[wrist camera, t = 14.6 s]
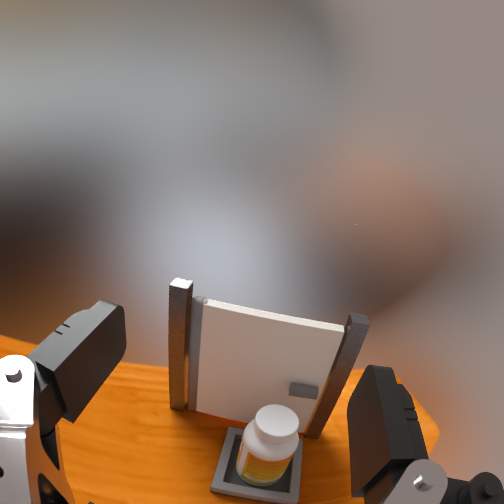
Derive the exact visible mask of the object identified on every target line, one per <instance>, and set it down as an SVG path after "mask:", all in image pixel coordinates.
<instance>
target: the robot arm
mask: <svg viewBox="0 0 504 504" xmlns="http://www.w3.org/2000/svg"><path fill="white" fill-rule="evenodd" d="M125 350H126V332H125V317H124V309H123V307H122V306H120V305H117V304H114V303H111V302H108V301H105V300H100V301H98V302H97V303H96V304H95V305H94V306H93V307H92V308H90V310H87V309H85V310H83V311H80V312H78V313H75V314H73V315H72V316H71V317H69V318H68V319H67V320H66V321H65V322H64V323H63V325H60V326H59V327H58V328H57V329H56V331H55V332H53V333H52V334H50V335H49V336H48V337H47V338H46V339H45V340H44V341H43V342H42V343H40V344H39V345H38V346H37V347H36V348H35V349H34V350H33V351H32V352H31V353H30V354H29V355H28V356H26V357H23V356H19V355H12V356H8V357H5V358H3V359H1V360H0V504H75V500H74V497H73V494H72V491H71V488H70V486H69V484H68V482H67V479H66V476H65V471H64V465H63V458H62V451H61V444H60V435H59V427H58V424H57V423H58V421H59V420H60V419H61V418H62V417H63V418H65V419H66V420H68V421H70V422H72V423H74V422H75V421H76V419H77V418H78V416H79V415H80V414H81V412H82V411H83V410H84V408H85V407H86V406H87V404H88V403H89V401H90V400H91V399H92V397H93V396H94V395H95V393H96V392H97V391H98V389H99V388H100V387H101V385H102V384H103V383H104V381H105V380H106V379H107V377H108V376H109V375H110V373H111V372H112V371H113V369H114V368H115V367H116V366H117V364H118V363H119V362H120V360H121V359H122V357H123V355H124V353H125ZM417 420H418V417H417V413H416V411H415V407H414V403H413V400H412V397H411V395H410V394H409V392H408V391H407V390H406V388H405V387H404V386H403V385H402V384H397V382H396V378H395V375H394V372H393V369H392V368H390V367H383V366H375V365H369V366H367V367H366V369H365V371H364V373H363V375H362V377H361V379H360V380H359V382H358V384H357V386H356V388H355V390H354V392H353V393H352V395H351V397H350V400H349V403H348V407H347V421H348V434H349V448H350V466H351V492H352V497H364V501H365V504H504V490H503V486H502V484H501V482H500V480H499V479H498V478H497V477H496V476H495V475H493V474H492V473H489V472H482V473H480V474H478V475H476V476H475V477H474V478H473V479H471V480H470V481H469V482H468V481H463V480H457V479H452V478H448V477H447V475H446V473H445V471H444V469H443V468H442V467H441V466H440V465H439V464H437V463H436V462H433V461H431V460H429V458H428V454H427V450H426V446H425V442H424V439H423V435H422V431H421V427H420V424H419V421H417ZM88 504H94V503H92V502H89V503H88Z"/></svg>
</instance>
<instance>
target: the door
mask: <svg viewBox="0 0 504 504" xmlns="http://www.w3.org/2000/svg"><path fill="white" fill-rule="evenodd" d="M343 335H344V328H343V325H337V324H331V323H325V322H320V321H314V320H309V319H303V318H298V317H292V316H287V315H282V314H277V313H272V312H267V311H262V310H257V309H252V308H247V307H243V306H238V305H233V304H229V303H224V302H220V301H215V300H210V299H207V298H205V297H202V296H196V297H193V298H192V306H191V323H190V342H189V366H188V403H187V407H188V409H189V410H191V411H199V412H203V413H206V414H210V415H214V416H218V417H222V418H226V419H231V420H235V421H240V422H244V423H250V422H251V421H252V420H254V419H255V417H256V414H257V412H258V411H259V410H260V409H261V408H263V407H265V406H267V405H274V404H275V405H282V406H285V407H287V408H289V409H291V410H292V411H293V412H294V413H295V414H296V415H297V417H298V419H299V427H298V429H297V432H302V433H303V432H304V429H305V427H306V425H307V423H308V421H309V419H310V416H311V414H312V412H313V410H314V408H315V405H316V403H317V401H318V398H319V396H320V394H321V391H322V389H323V387H324V384H325V382H326V379H327V377H328V374H329V372H330V369H331V367H332V364H333V362H334V359H335V356H336V354H337V351H338V348H339V346H340V343H341V340H342V338H343Z"/></svg>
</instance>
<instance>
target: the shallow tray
mask: <svg viewBox="0 0 504 504" xmlns="http://www.w3.org/2000/svg"><path fill="white" fill-rule="evenodd" d="M244 430H245V429H240V428H235V427H231V426H229V428H228V431H227V434H226V438H225V441H224V445H223V448H222V451H221V455H220V458H219V461H218V465H217V468H216V471H215V474H214V478H213V481H212V484H211V488H210V491H212V492H216V493H220V494H224V495H229V496H234V497H239V498H244V499H249V500H255V501H262V502H268V503H276V504H297V503H298V501H299V490H300V478H301V465H302V450H303V439H299V443H298V446H297V449H296V451H295V453H294V454H293V456H292V458H291V460H290V462H289V464H288V466H287V468H286V470H285V472H284V474H283V475H282V477H281V478H280V479H279V480H278V481H277V482H275V483H274V484H271V485H268V486H255V485H252V484H249V483H247V482H246V481H244V480H243V479H242V478H241V477H240V476H239V474H238V472H237V470H236V461H237V457H238V453H239V449H240V445H241V441H242V437H243V433H244Z"/></svg>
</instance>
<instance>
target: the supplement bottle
mask: <svg viewBox="0 0 504 504" xmlns="http://www.w3.org/2000/svg"><path fill="white" fill-rule="evenodd" d="M298 427H299V419H298V417H297V415H296V414H295V413H294V412H293V411H292V410H291V409H289V408H287V407H285V406H282V405H275V404H274V405H267V406H265V407H263V408H261V409H260V410H259V411H258V412H257V414H256V417H255V419H254V420H252V421H251V422H250V423H249V424H248V425H247V426H246V428H245V430H244V433H243V437H242V441H241V445H240V449H239V453H238V457H237V461H236V470H237V472H238V474H239V476H240V477H241V478H242V479H243V480H244V481H246V482H247V483H249V484H252V485H255V486H268V485H271V484H274V483H275V482H277V481H278V480H279V479H280V478H281V477H282V475H283V474H284V472H285V470H286V468H287V466H288V464H289V462H290V460H291V458H292V456H293V454H294V453H295V451H296V449H297V446H298V443H299V435H298V432H297V429H298Z"/></svg>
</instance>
